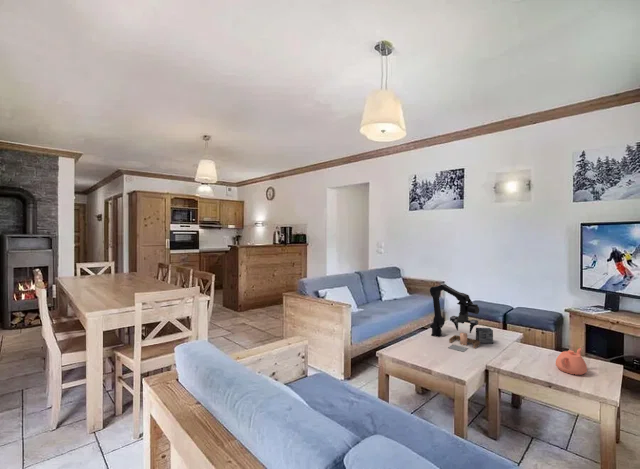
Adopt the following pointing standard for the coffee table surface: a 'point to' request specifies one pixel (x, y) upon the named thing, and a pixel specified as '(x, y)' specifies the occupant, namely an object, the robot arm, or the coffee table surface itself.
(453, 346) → the mat
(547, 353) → the coffee table surface
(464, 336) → the popsicle on stick
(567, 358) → the orange rounded lump
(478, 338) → the small box
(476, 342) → the holder
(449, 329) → the coffee table surface
